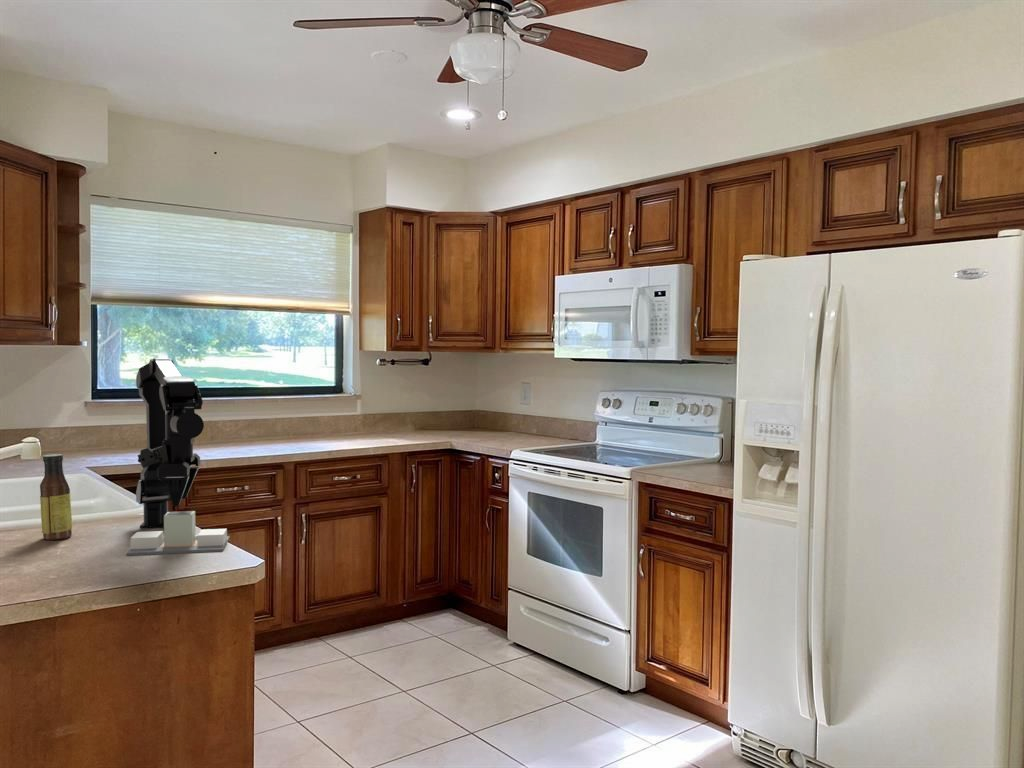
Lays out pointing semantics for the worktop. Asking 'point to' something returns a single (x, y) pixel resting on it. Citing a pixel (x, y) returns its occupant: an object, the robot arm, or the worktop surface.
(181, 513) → the block
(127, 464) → the worktop surface
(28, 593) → the worktop surface
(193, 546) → the rail board
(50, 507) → the sauce bottle
